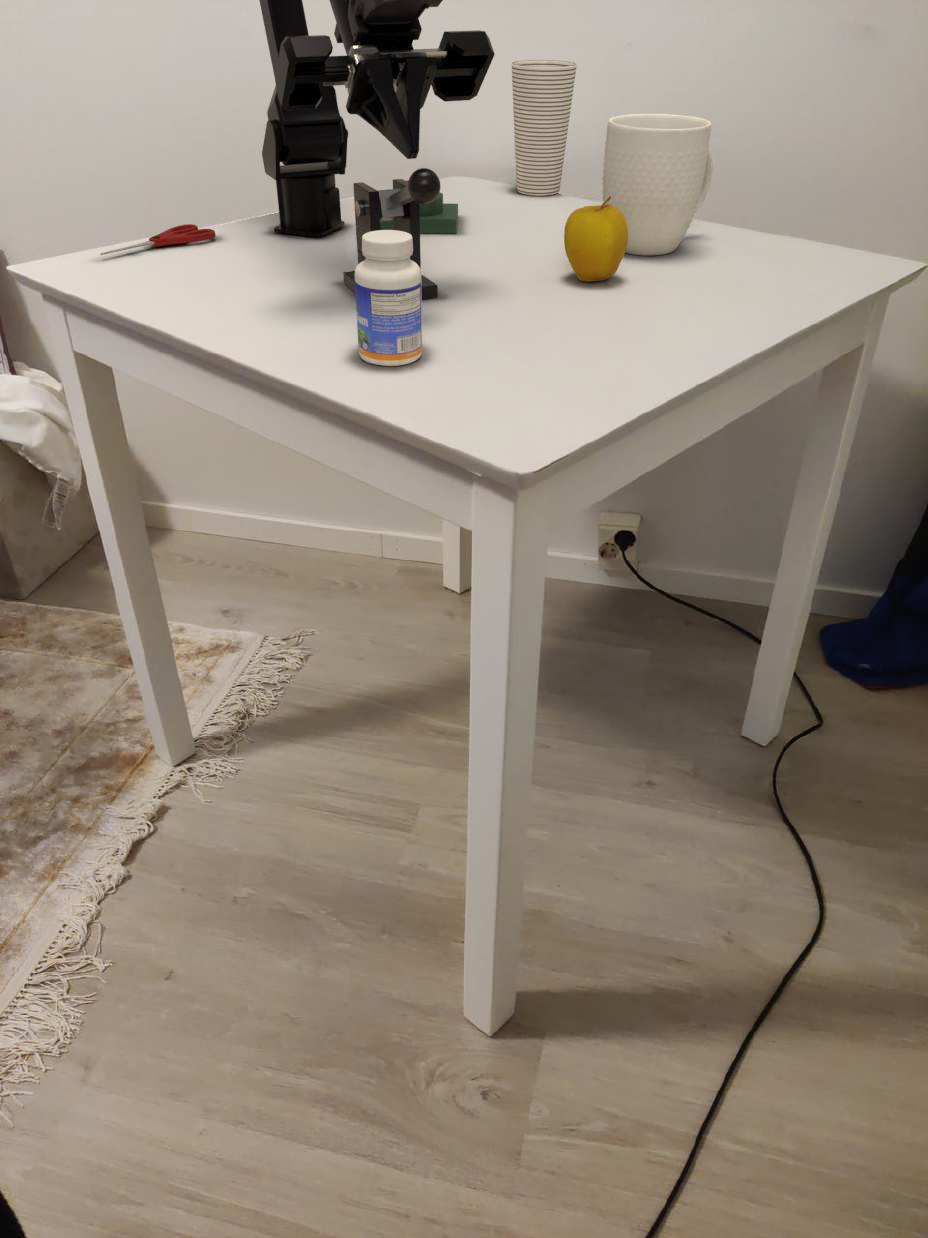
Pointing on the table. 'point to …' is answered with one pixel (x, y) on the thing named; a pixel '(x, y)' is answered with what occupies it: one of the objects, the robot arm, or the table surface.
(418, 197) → the lever
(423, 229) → the button box
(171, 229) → the scissors
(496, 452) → the table surface
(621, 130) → the mug
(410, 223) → the bracket
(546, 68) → the cup
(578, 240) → the apple
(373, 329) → the pill bottle
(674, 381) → the table surface
